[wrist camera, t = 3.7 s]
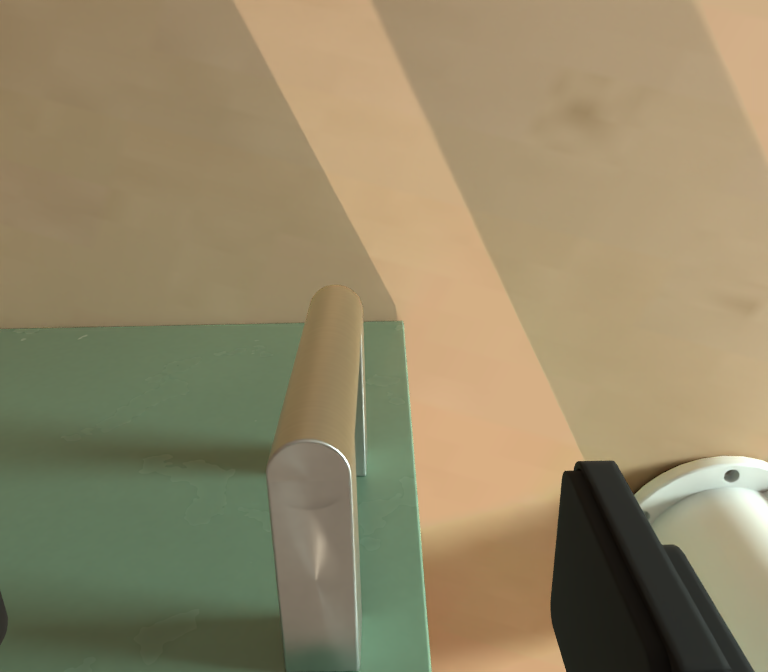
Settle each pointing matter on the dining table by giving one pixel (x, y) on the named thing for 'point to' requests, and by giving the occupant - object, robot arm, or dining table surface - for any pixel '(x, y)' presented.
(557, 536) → the robot arm
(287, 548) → the fridge door
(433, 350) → the dining table surface
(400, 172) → the dining table surface
